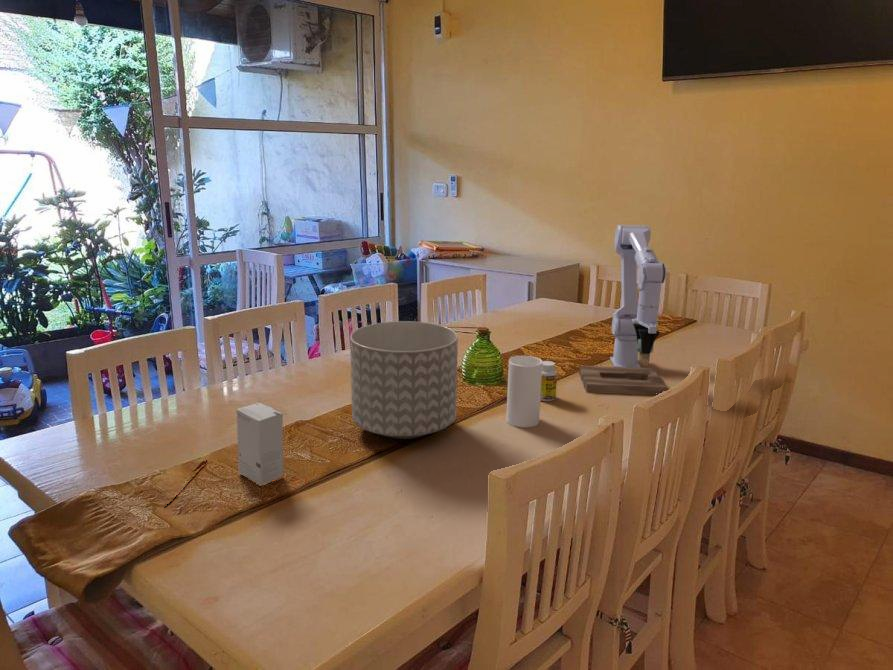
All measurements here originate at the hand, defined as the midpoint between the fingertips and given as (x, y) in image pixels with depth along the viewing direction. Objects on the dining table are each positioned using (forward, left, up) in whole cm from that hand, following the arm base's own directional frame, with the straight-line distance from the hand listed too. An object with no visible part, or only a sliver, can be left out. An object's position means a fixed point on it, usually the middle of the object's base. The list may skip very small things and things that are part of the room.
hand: (643, 350), depth 191 cm
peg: (0, 0, -4) cm, 4 cm away
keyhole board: (0, -6, -10) cm, 12 cm away
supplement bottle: (+14, -29, -10) cm, 34 cm away
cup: (+30, -36, -10) cm, 48 cm away
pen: (+68, -105, -11) cm, 126 cm away
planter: (+38, -65, -10) cm, 76 cm away
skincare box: (+64, -91, -10) cm, 112 cm away
